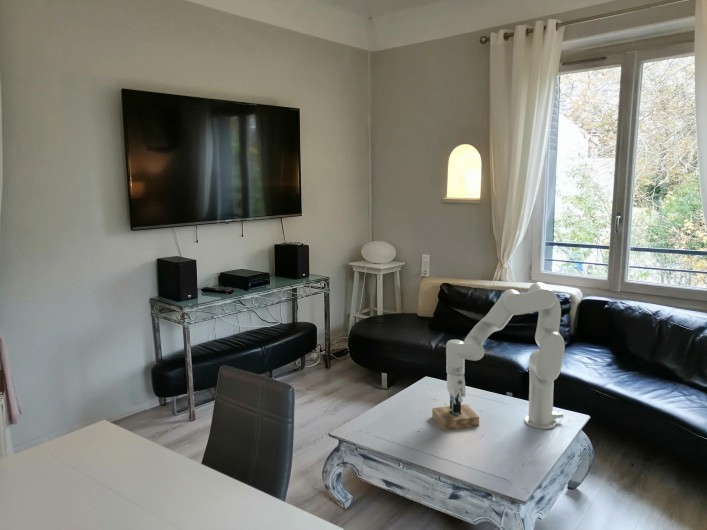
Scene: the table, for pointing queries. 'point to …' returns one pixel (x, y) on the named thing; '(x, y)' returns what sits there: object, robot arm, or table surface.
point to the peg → (452, 406)
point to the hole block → (455, 417)
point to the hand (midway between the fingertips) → (455, 409)
